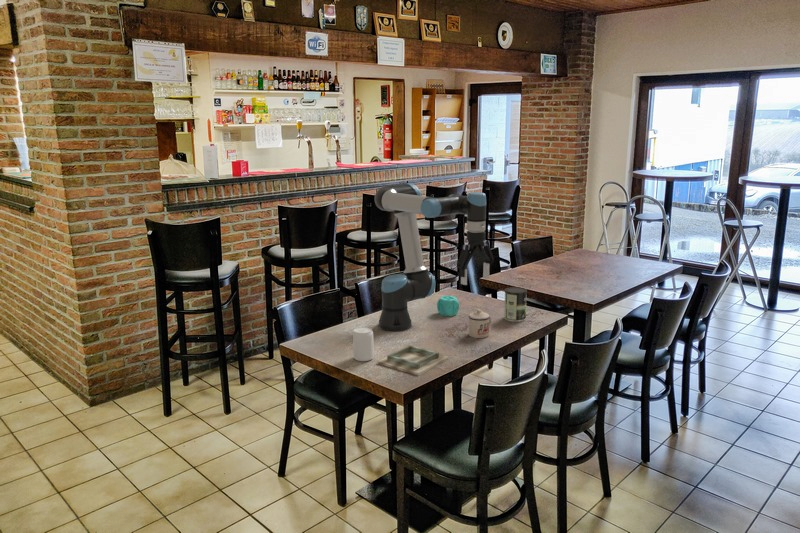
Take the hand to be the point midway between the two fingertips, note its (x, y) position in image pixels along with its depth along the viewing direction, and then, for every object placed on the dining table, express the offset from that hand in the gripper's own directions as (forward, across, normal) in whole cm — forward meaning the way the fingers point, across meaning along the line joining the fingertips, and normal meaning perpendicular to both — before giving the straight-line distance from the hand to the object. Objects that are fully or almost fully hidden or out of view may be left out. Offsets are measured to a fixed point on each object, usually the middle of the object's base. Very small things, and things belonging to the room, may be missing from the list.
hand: (475, 281), depth 253 cm
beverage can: (+27, -45, +18) cm, 56 cm away
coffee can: (+27, +37, +8) cm, 47 cm away
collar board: (+27, -33, +2) cm, 42 cm away
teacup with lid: (+27, +10, +4) cm, 29 cm away
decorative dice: (+28, +20, +35) cm, 49 cm away
